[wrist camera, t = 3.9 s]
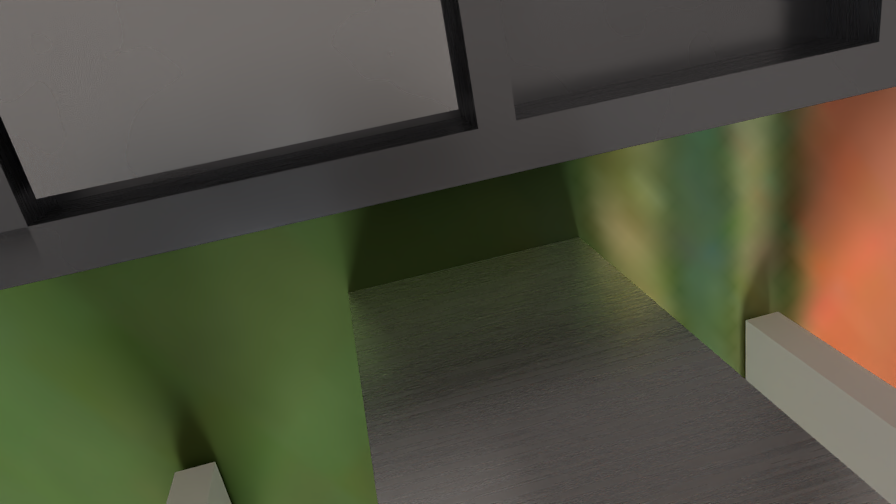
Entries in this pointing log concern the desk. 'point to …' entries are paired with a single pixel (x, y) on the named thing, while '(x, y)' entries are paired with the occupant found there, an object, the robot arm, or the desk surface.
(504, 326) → the grey metallic block
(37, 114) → the frame
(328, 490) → the desk surface
